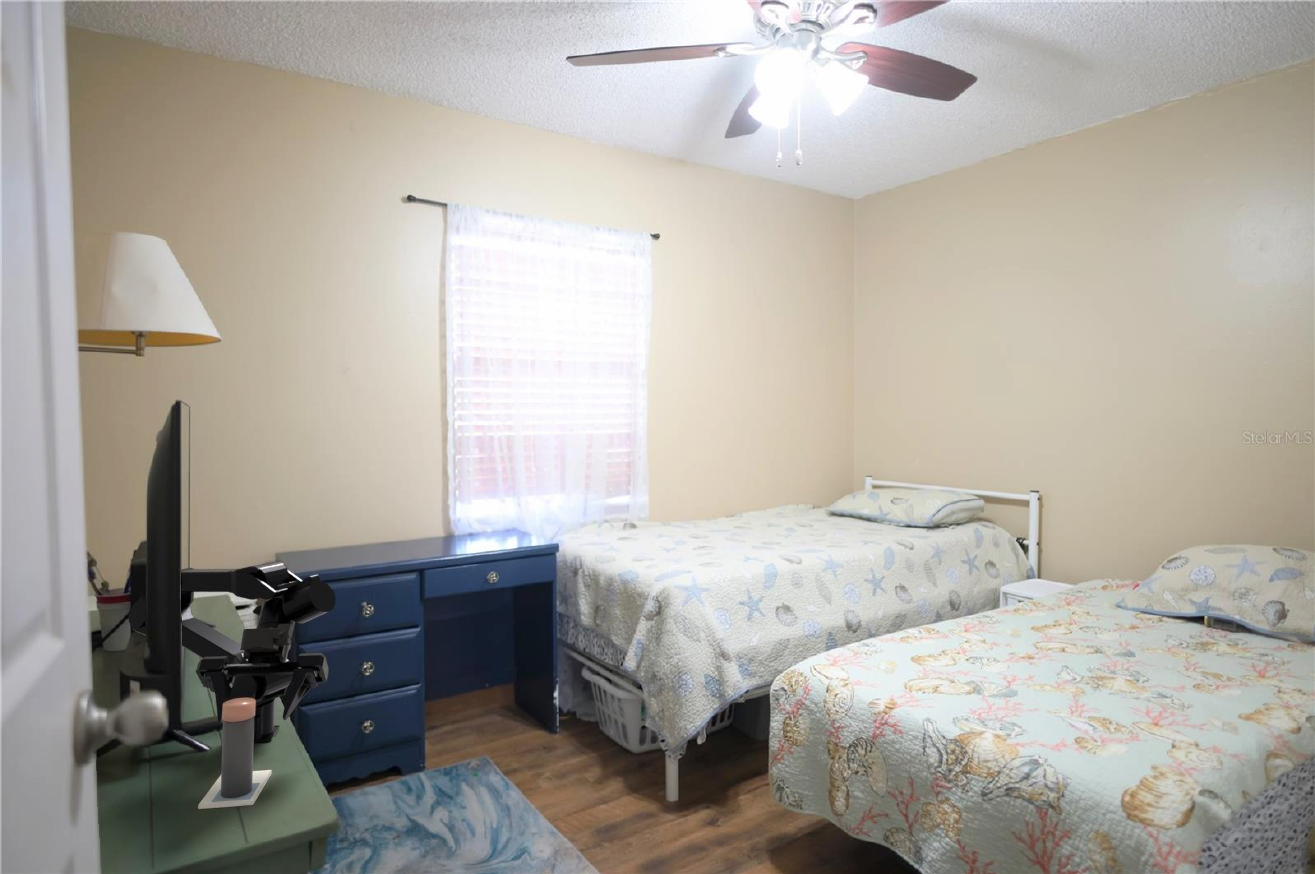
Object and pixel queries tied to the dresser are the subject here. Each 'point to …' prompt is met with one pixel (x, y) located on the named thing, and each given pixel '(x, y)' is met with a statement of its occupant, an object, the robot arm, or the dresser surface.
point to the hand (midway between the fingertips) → (252, 720)
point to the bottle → (237, 747)
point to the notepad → (216, 800)
